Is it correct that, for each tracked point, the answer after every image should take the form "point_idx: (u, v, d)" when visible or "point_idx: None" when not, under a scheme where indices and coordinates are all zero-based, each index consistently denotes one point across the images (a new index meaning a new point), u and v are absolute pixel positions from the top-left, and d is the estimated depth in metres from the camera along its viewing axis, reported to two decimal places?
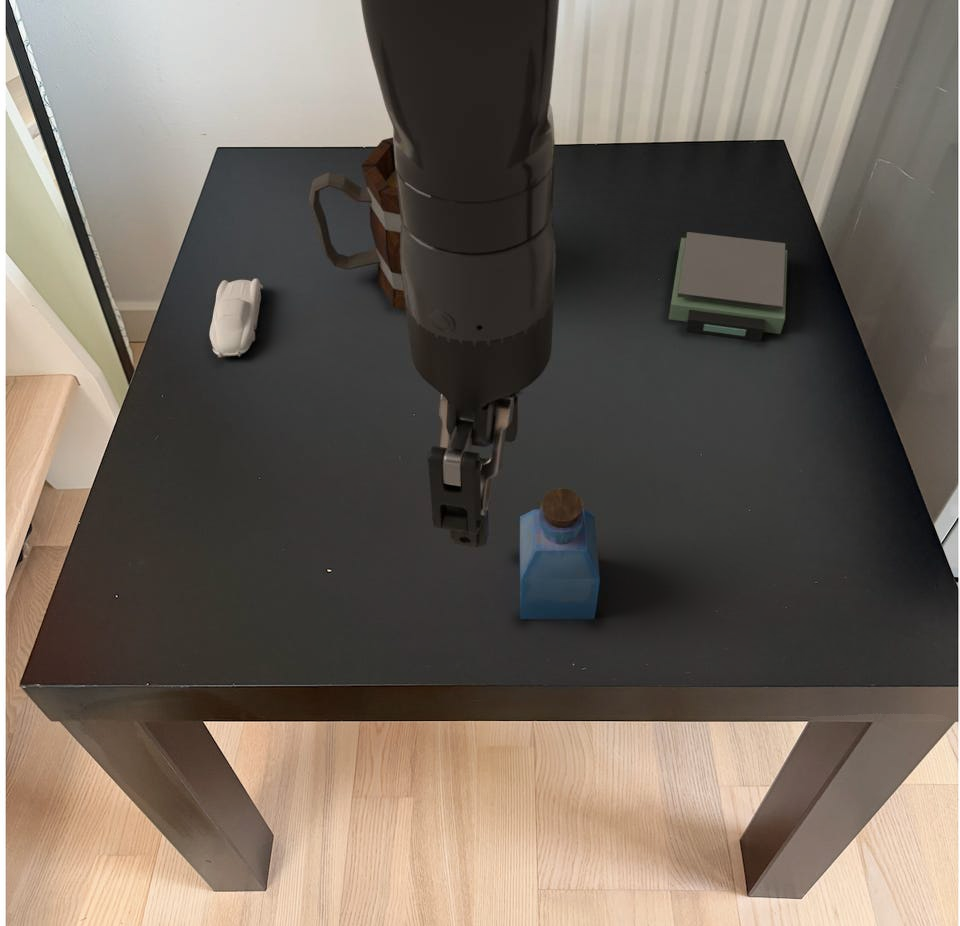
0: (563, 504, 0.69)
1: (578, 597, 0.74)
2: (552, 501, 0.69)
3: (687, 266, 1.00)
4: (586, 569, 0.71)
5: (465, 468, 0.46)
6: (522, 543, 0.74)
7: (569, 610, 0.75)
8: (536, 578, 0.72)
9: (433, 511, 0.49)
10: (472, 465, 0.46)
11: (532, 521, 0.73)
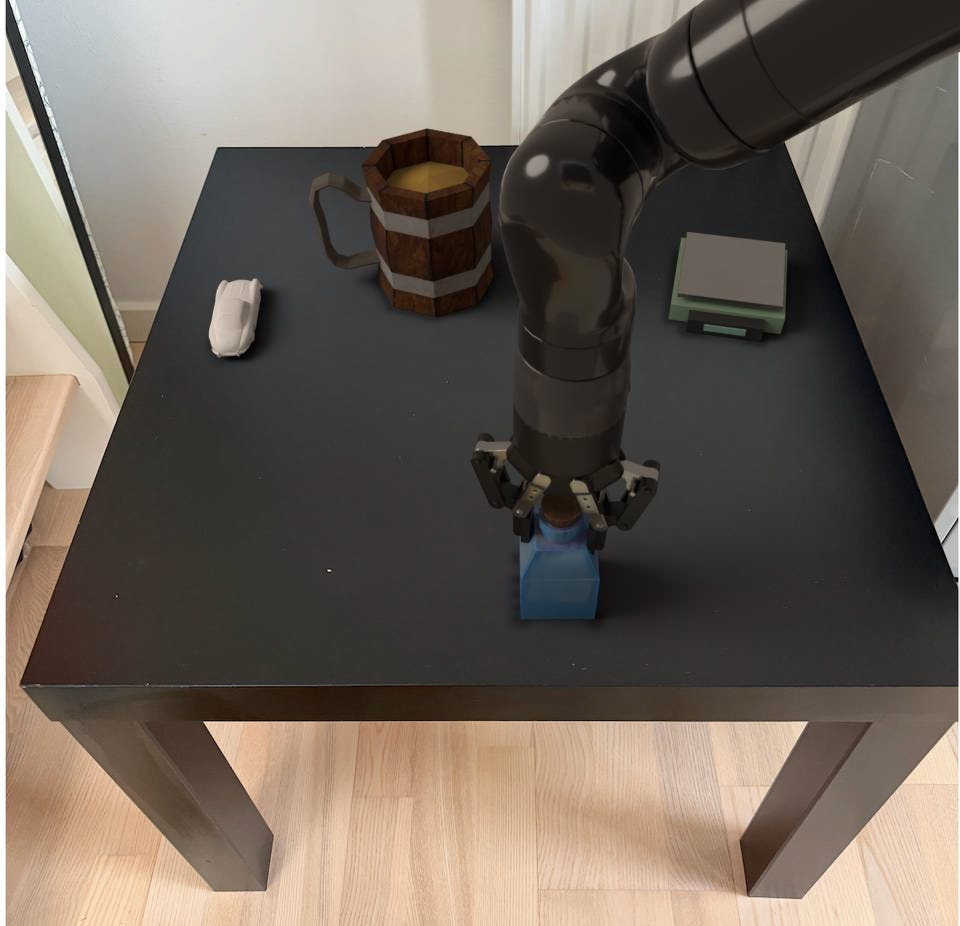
0: (563, 504, 0.69)
1: (578, 597, 0.74)
2: (552, 501, 0.69)
3: (687, 266, 1.00)
4: (586, 569, 0.71)
5: None
6: (522, 543, 0.74)
7: (569, 610, 0.75)
8: (536, 578, 0.72)
9: None
10: (472, 458, 0.66)
11: None
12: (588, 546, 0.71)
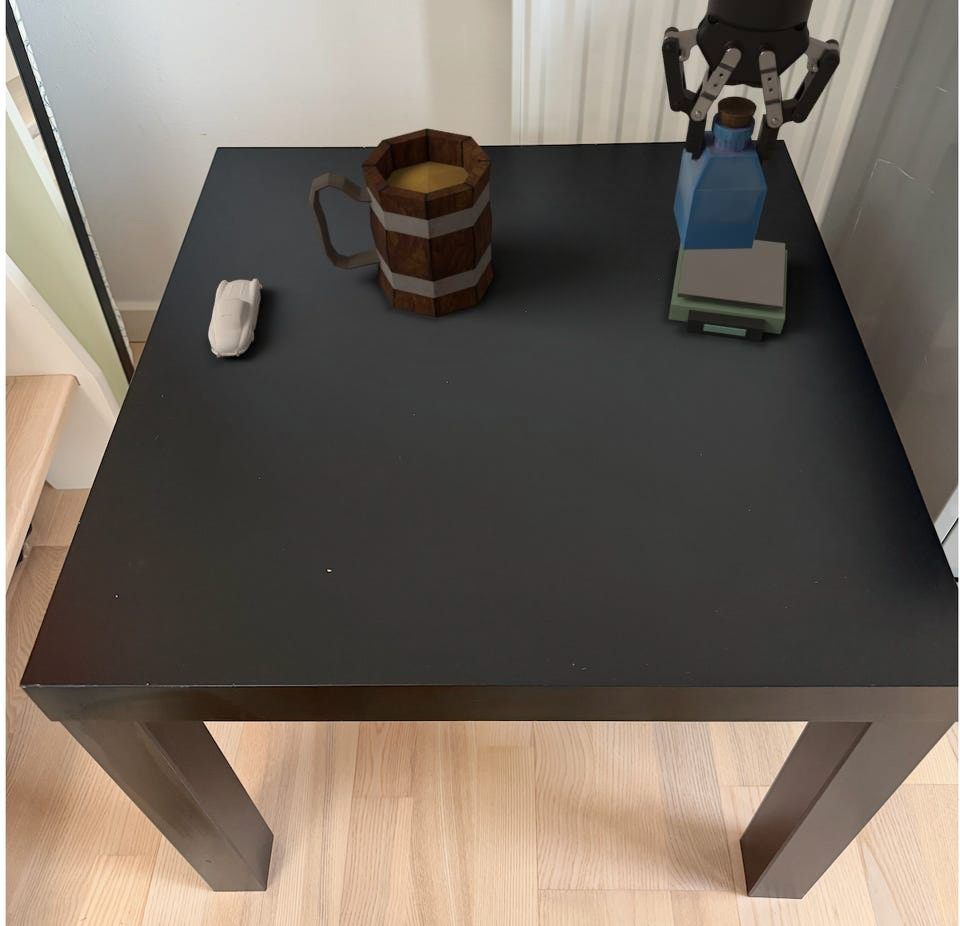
0: (738, 106, 0.74)
1: (742, 215, 0.79)
2: (727, 104, 0.75)
3: (687, 266, 1.00)
4: (755, 177, 0.76)
5: (662, 44, 0.71)
6: (690, 165, 0.79)
7: (731, 235, 0.81)
8: (708, 188, 0.77)
9: None
10: (663, 44, 0.71)
11: None
12: (758, 153, 0.76)
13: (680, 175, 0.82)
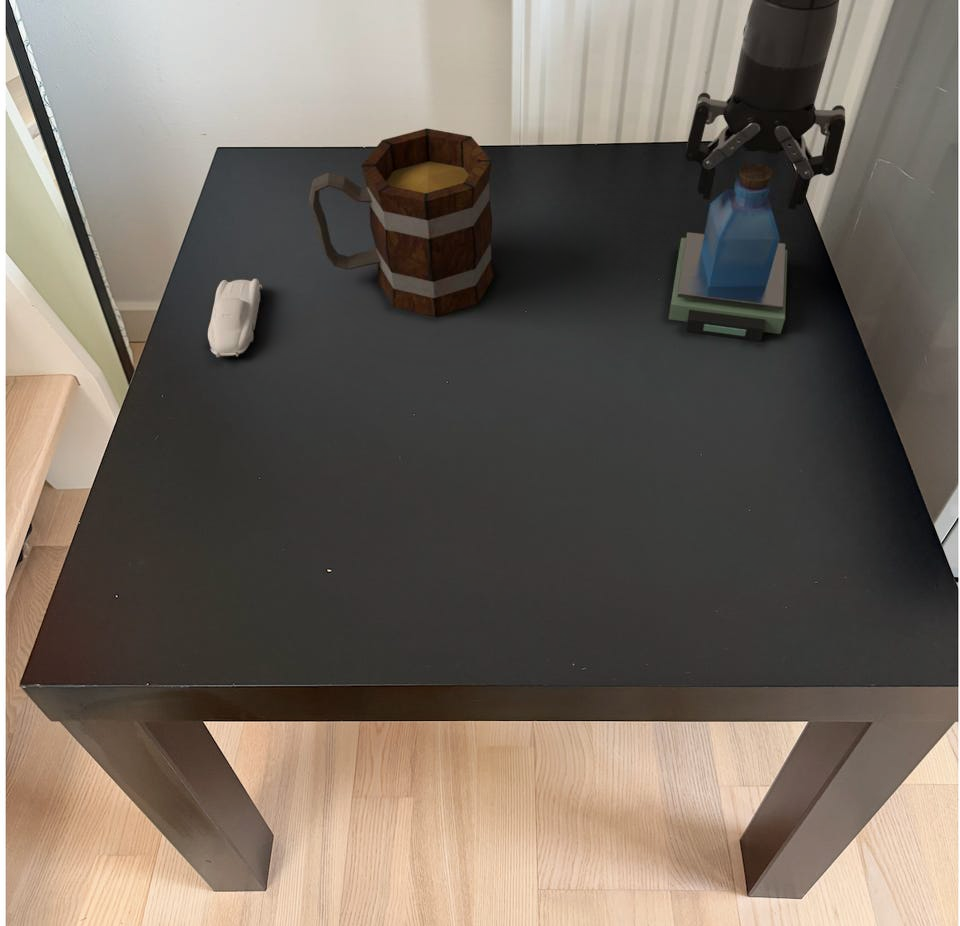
0: (756, 171, 0.91)
1: (759, 259, 0.95)
2: (748, 170, 0.91)
3: (687, 267, 1.00)
4: (770, 229, 0.93)
5: (697, 106, 0.86)
6: (716, 217, 0.95)
7: (749, 275, 0.97)
8: (731, 238, 0.93)
9: None
10: (698, 106, 0.86)
11: (725, 198, 0.94)
12: (792, 199, 0.91)
13: (707, 224, 0.98)
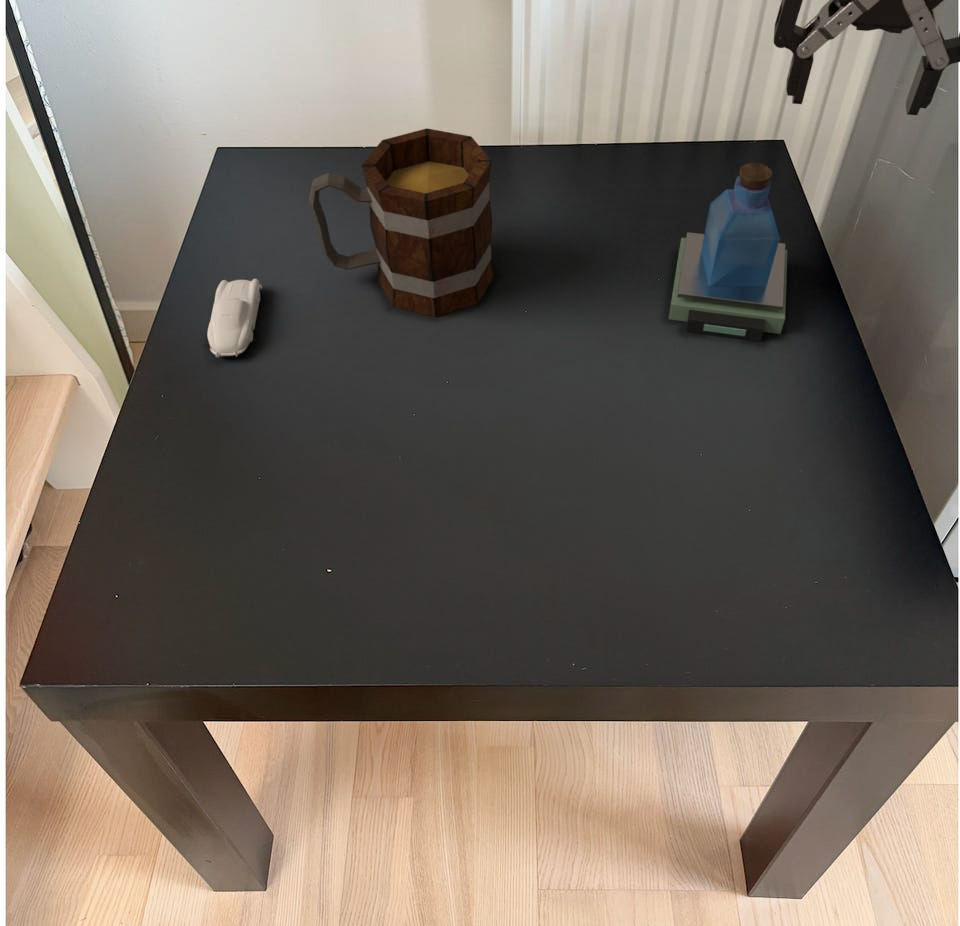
0: (756, 171, 0.91)
1: (759, 259, 0.95)
2: (748, 170, 0.91)
3: (687, 267, 1.00)
4: (770, 229, 0.93)
5: None
6: (716, 217, 0.95)
7: (749, 275, 0.97)
8: (731, 238, 0.93)
9: (779, 9, 0.68)
10: None
11: (725, 198, 0.94)
12: (915, 99, 0.68)
13: (707, 224, 0.98)
